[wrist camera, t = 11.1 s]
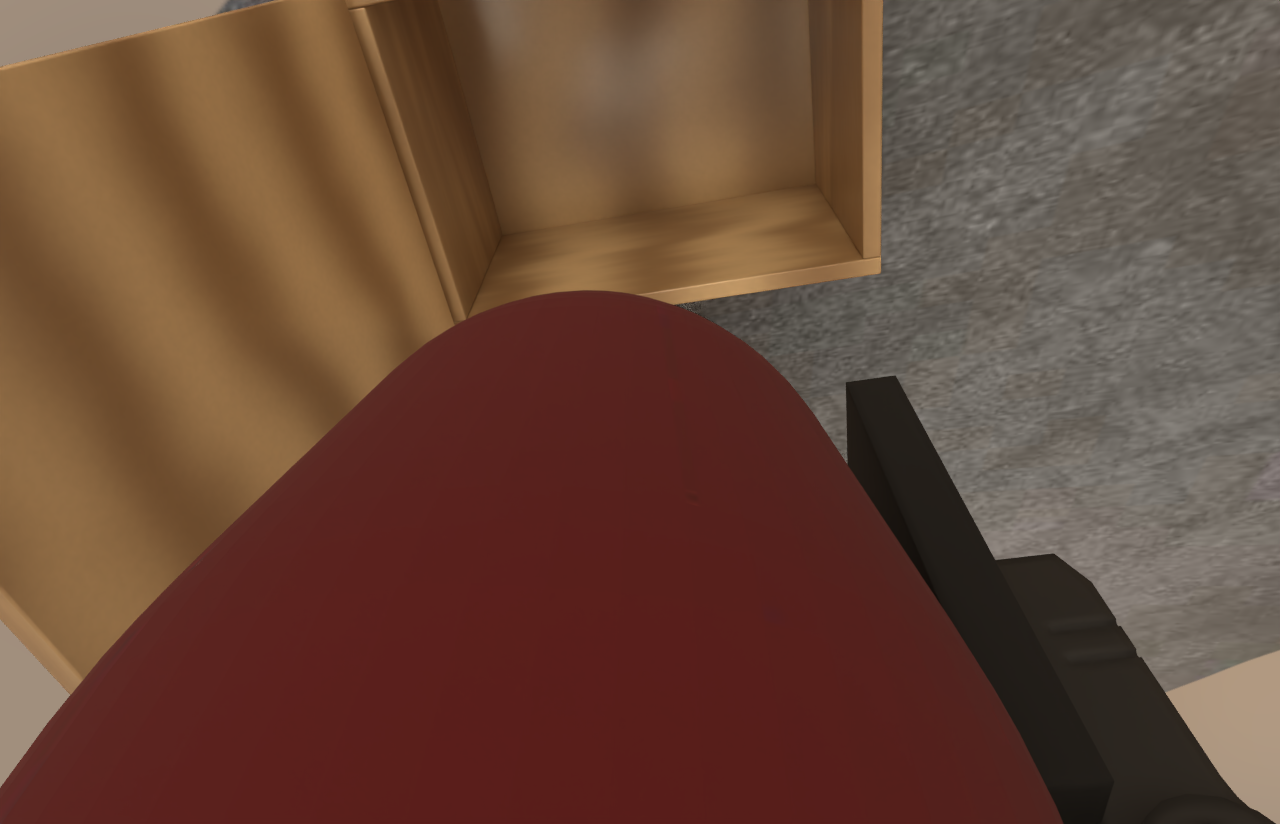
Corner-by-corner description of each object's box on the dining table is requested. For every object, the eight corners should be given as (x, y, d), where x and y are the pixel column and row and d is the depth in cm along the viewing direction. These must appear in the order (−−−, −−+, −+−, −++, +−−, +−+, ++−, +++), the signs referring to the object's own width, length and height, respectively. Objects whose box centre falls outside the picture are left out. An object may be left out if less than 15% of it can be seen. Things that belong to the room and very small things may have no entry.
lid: (-385, 161, 11) (-599, 200, 12) (154, 762, 19) (-7, 748, 20) (340, -15, 27) (220, 8, 28) (460, 342, 35) (363, 349, 36)
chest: (817, -115, 36) (884, -123, 26) (827, 190, 44) (881, 273, 34) (415, -35, 37) (335, -14, 28) (495, 244, 45) (455, 338, 36)
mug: (789, 660, 16) (923, 1433, 8) (416, 646, 16) (171, 1406, 8) (898, 169, 11) (1769, 1150, 2) (316, 146, 11) (-935, 1055, 2)
